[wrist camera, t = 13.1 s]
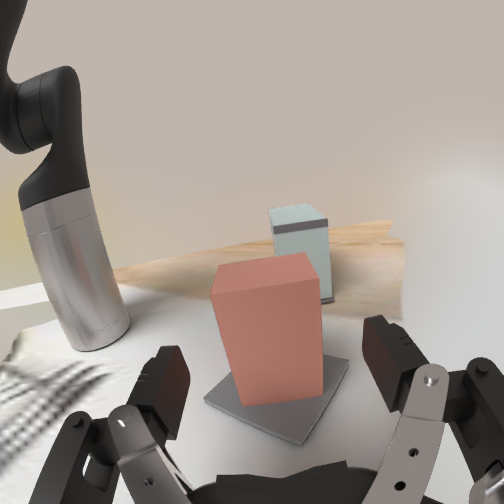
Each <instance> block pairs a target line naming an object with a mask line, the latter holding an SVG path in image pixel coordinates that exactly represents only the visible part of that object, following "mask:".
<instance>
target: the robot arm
mask: <svg viewBox="0 0 504 504" xmlns="http://www.w3.org/2000/svg"><path fill="white" fill-rule="evenodd" d="M27 1H28V0H0V143H1V144H2V145H3V146H4V147H5V148H6V149H8V150H9V151H10V152H12V153H14V154H25V153H28V152H31V151H34V150H35V149H38V148H41V147H43V146H45V145H48V144H51V143H52V146H51V149H50V151H49V153H48V154H47V156H46V157H45V159H44V160H43V162H42V163H41V164H40V165H39V167H38V168H37V169H36V170H35V171H34V172H33V173H32V174H31V175H30V176H29V177H28V178H27V179H26V180H25V181H24V182H23V183H22V184H21V186H20V188H19V191H18V197H19V203H20V208H21V211H22V216H23V221H24V225H25V228H26V233H27V236H28V239H29V243H30V246H31V249H32V253H33V256H34V259H35V262H36V265H37V268H38V271H39V274H40V277H41V279H42V282H43V285H44V287H45V290H46V292H47V295H48V297H49V300H50V302H51V304H52V307H53V309H54V311H55V314H56V316H57V318H58V320H59V323H60V325H61V327H62V329H63V331H64V333H65V335H66V337H67V339H68V341H69V343H70V344H71V346H72V347H73V348H74V349H76V350H79V351H91V350H95V349H99V348H102V347H104V346H107V345H109V344H110V343H112V342H114V341H115V340H117V339H118V338H120V337H121V336H122V335H123V334H124V333H125V332H126V330H127V329H128V327H129V325H130V317H129V315H128V312H127V310H126V307H125V305H124V302H123V299H122V297H121V294H120V291H119V288H118V285H117V283H116V280H115V277H114V274H113V271H112V268H111V265H110V262H109V258H108V255H107V252H106V248H105V245H104V242H103V238H102V234H101V231H100V227H99V223H98V219H97V215H96V212H95V208H94V203H93V199H92V194H91V189H90V188H89V187H90V184H89V179H88V174H87V168H86V161H85V154H84V146H83V136H82V116H81V115H82V113H81V91H80V83H79V79H78V76H77V74H76V72H75V70H74V69H73V68H72V67H70V66H62V67H59V68H56V69H53V70H50V71H48V72H45V73H43V74H40V75H38V76H35V77H33V78H31V79H29V80H27V81H25V82H23V83H20V84H17V83H14V82H13V81H12V80H11V79H10V77H9V76H8V73H7V62H8V58H9V54H10V51H11V48H12V45H13V42H14V39H15V36H16V34H17V31H18V28H19V25H20V23H21V20H22V17H23V14H24V11H25V8H26V4H27ZM362 351H363V356H364V359H365V361H366V363H367V365H368V367H369V369H370V371H371V374H372V376H373V378H374V380H375V382H376V384H377V386H378V388H379V390H380V392H381V394H382V396H383V399H384V401H385V403H386V405H387V407H388V409H389V412H390V413H391V412H394V411H397V410H399V411H400V413H401V417H400V419H399V422H398V425H397V427H396V430H395V433H394V435H393V438H392V440H391V442H390V445H389V447H388V449H387V452H386V454H385V456H384V458H383V460H382V462H381V465H380V467H379V469H378V471H374V470H370V469H367V468H360V467H347V464H346V460H345V461H340V462H336V463H332V464H327V465H322V466H317V467H313V468H310V469H308V470H305V471H302V472H300V473H297V474H294V475H291V476H288V477H285V478H270V477H262V476H255V475H249V474H243V475H217V478H216V482H213V483H210V484H206V485H204V486H201V487H199V488H197V489H195V488H194V487H193V486H192V485H191V483H190V482H189V481H188V480H187V479H186V477H185V476H184V474H183V473H182V471H181V470H180V468H179V467H178V465H177V464H176V462H175V461H174V459H173V458H172V456H171V455H170V453H169V451H168V450H167V448H166V447H165V443H166V440H176V438H177V434H178V430H179V426H180V422H181V418H182V414H183V410H184V406H185V402H186V398H187V394H188V390H189V386H190V373H189V370H188V367H187V365H186V362H185V360H184V357H183V355H182V352H181V350H180V348H179V346H177V345H176V346H161V347H160V349H159V351H158V353H157V355H156V358H151V359H150V360H149V361H148V362H147V363H146V364H145V365H144V367H143V369H142V371H141V373H140V374H141V375H139V377H138V379H137V382H136V384H135V386H134V388H133V390H132V392H131V394H130V397H129V399H128V401H127V403H126V405H122V406H119V407H117V408H115V409H114V410H113V411H112V412H111V413H110V414H109V417H108V418H101V419H92V418H91V417H90V416H89V414H88V413H86V412H84V411H77V412H74V413H72V414H70V415H69V416H68V417H67V418H66V420H65V422H64V423H63V425H62V427H61V429H60V431H59V434H58V436H57V438H56V440H55V442H54V444H53V446H52V448H51V450H50V453H49V455H48V457H47V459H46V461H45V464H44V466H43V468H42V471H41V473H40V475H39V478H38V480H37V483H36V485H35V488H34V490H33V493H32V496H31V498H30V501H29V504H112V502H113V498H114V494H115V490H116V486H117V482H118V478H119V475H120V472H121V474H122V477H123V479H124V481H125V484H126V486H127V488H128V490H129V492H130V494H131V496H132V498H133V500H134V502H135V504H443V503H441V502H438V501H436V500H433V499H431V498H429V497H427V496H425V495H424V492H425V490H426V487H427V485H428V482H429V479H430V476H431V473H432V470H433V467H434V464H435V461H436V458H437V454H438V450H439V447H440V443H441V439H442V435H443V431H444V425H445V423H449V425H450V427H451V429H452V432H453V434H454V436H455V438H456V440H457V442H458V444H459V447H460V449H461V451H462V453H463V456H464V458H465V461H466V463H467V465H468V468H469V470H470V473H471V475H472V478H473V480H474V483H475V484H474V485H473V487H472V489H471V491H470V495H469V504H504V375H503V374H502V373H501V372H500V370H499V369H498V368H497V366H496V365H495V364H494V363H493V362H492V361H491V360H489V359H487V358H483V357H480V358H479V357H478V358H475V359H473V360H471V361H470V362H469V364H468V366H467V368H466V370H461V371H453V372H447V370H446V369H445V368H444V367H442V366H440V365H437V364H430V363H429V362H428V360H427V359H426V358H425V356H424V355H423V354H422V352H421V351H420V350H419V348H418V347H417V346H416V344H415V343H413V340H412V339H411V338H410V337H409V335H408V334H407V333H406V331H405V330H404V329H403V328H402V327H400V326H398V325H397V324H395V323H392V324H389V323H388V322H387V321H386V319H385V318H384V317H383V315H377V316H373V317H369V318H365V319H364V326H363V342H362ZM88 455H89V456H90V457H91V458H90V461H89V463H88V466H87V469H86V472H85V475H84V476H83V467H84V464H85V462H86V459H87V456H88Z"/></svg>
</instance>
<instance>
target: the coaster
mask: <svg viewBox="0 0 504 504" xmlns="http://www.w3.org/2000/svg"><path fill="white" fill-rule="evenodd" d="M348 366H349V360H345V359H340V358H336V357H331V356H326V355H323V395H322V396H317V397H312V398H306V399H300V400H294V401H288V402H281V403H273V404H265V405H255V406H244V407H243V406H242V403H241V400H240V397H239V394H238V390H237V387H236V384H235V381H234V378H233V374H232V371H231V372H230V373H229V374H228V375H227V376H226V377H225V378H224V379H223V380H222V381H221V382H220V383H219V384H218V385H217V386H216V387H214V388H213V389H212V390H211V391H210V392H209V393H208V394H207V395H206V396H205V397H204V401H205V403H207V404H209V405H211V406H213V407H214V408H216V409H218V410H220V411H222V412H224V413H226V414H228V415H230V416H232V417H234V418H236V419H238V420H240V421H242V422H244V423H247V424H249V425H251V426H253V427H255V428H258V429H260V430H262V431H264V432H267V433H269V434H272V435H274V436H276V437H279V438H281V439H284V440H287V441H289V442H292V443H295V444H297V445H300V446H301V445H302V444H303V443H304V441H305V440H306V438H307V437H308V435H309V433H310V432H311V430H312V429H313V427H314V426H315V424H316V423H317V421H318V419H319V418H320V416H321V414H322V413H323V411H324V409H325V408H326V406H327V404H328V403H329V401H330V399H331V397H332V396H333V394H334V392H335V390H336V388H337V387H338V385H339V383H340V381H341V379H342V377H343V375H344V374H345V372H346V370H347V368H348Z"/></svg>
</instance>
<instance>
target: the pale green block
mask: <svg viewBox="0 0 504 504" xmlns="http://www.w3.org/2000/svg"><path fill="white" fill-rule="evenodd" d="M268 210H269V217H270V224H271V230H272V237H273V244H274V250H275V257H276V256H283V255H289V254H295V253H302V252H305V253H306V255H307V257H308V258H309V260H310V262H311V264H312V266H313V267H314V269H315V271H316V273H317V275H318V277H319V282H320V298H321V299H324V298H330V297H332V281H331V263H330V248H329V235H328V219H327V218H326V217H324V216H323V215H322V214H321V213H319V212H318V211H317V210H316V209H314V208H313V207H312V206H311V205H309V204H301V205H294V206H287V207H280V208H274V209H268ZM332 301H334V298H330V299H324V300H321V303H327V302H332Z"/></svg>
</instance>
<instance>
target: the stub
mask: <svg viewBox="0 0 504 504" xmlns="http://www.w3.org/2000/svg"><path fill="white" fill-rule="evenodd" d="M210 296H211V300H212V304H213V308H214V312H215V315H216V319H217V323H218V326H219V330H220V334H221V337H222V341H223V344H224V348H225V351H226V354H227V358H228V361H229V365H230V368H231V371H232V374H233V378H234V381H235V384H236V387H237V390H238V394H239V397H240V400H241V403H242V406H243V407H244V406H255V405H265V404H273V403H281V402H288V401H294V400H300V399H306V398H312V397H317V396H322V395H323V345H322V317H321V298H320V282H319V277H318V275H317V273H316V271H315V269H314V267H313V266H312V264H311V262H310V260H309V258H308V257H307V255H306V253H305V252H302V253H295V254H289V255H283V256H276V257H270V258H263V259H257V260H251V261H244V262H238V263H231V264H224V265H219V267H218V270H217V273H216V277H215V280H214V283H213V286H212V290H211V293H210Z"/></svg>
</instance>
